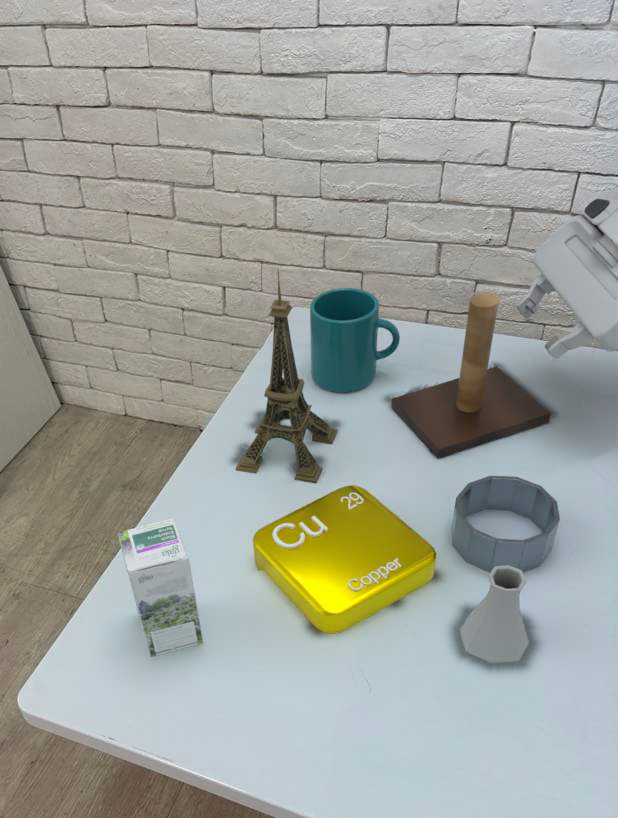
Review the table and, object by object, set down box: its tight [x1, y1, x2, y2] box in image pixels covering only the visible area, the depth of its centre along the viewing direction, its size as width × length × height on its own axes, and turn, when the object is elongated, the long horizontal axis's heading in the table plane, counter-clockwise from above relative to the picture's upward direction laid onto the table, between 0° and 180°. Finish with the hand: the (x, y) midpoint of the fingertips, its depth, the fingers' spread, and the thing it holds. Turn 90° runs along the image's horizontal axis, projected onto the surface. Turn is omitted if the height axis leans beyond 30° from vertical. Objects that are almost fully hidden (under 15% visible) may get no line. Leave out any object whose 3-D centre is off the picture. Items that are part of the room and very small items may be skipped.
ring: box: [450, 475, 561, 574], centre depth 86 cm, size 10×10×6 cm
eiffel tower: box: [235, 268, 338, 484], centre depth 95 cm, size 11×11×25 cm
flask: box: [458, 565, 530, 664], centre depth 76 cm, size 7×7×10 cm
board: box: [390, 365, 552, 459], centre depth 104 cm, size 16×12×2 cm
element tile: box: [252, 484, 437, 635], centre depth 86 cm, size 15×15×5 cm
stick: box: [456, 292, 499, 412], centre depth 99 cm, size 3×3×15 cm
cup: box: [309, 287, 401, 393], centre depth 110 cm, size 9×12×11 cm
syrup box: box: [117, 517, 204, 657], centre depth 79 cm, size 6×6×14 cm
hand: (534, 332), depth 97 cm, fingers open, 8 cm apart
